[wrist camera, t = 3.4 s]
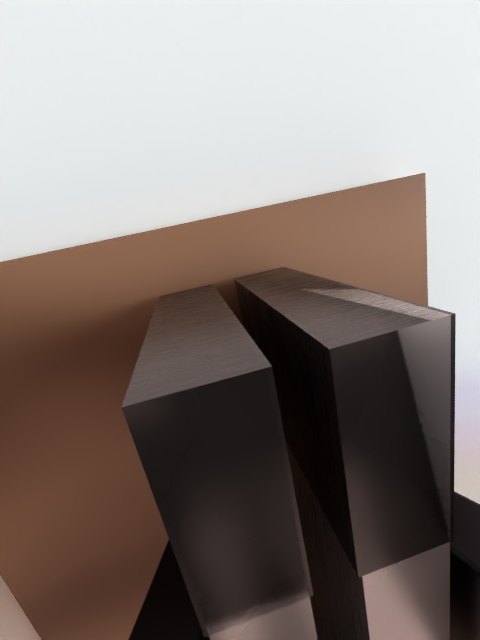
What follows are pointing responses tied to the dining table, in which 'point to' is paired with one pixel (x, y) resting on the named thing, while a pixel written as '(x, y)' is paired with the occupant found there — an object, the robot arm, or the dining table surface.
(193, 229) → the board
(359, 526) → the frame
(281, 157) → the dining table surface
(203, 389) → the tongs arm
